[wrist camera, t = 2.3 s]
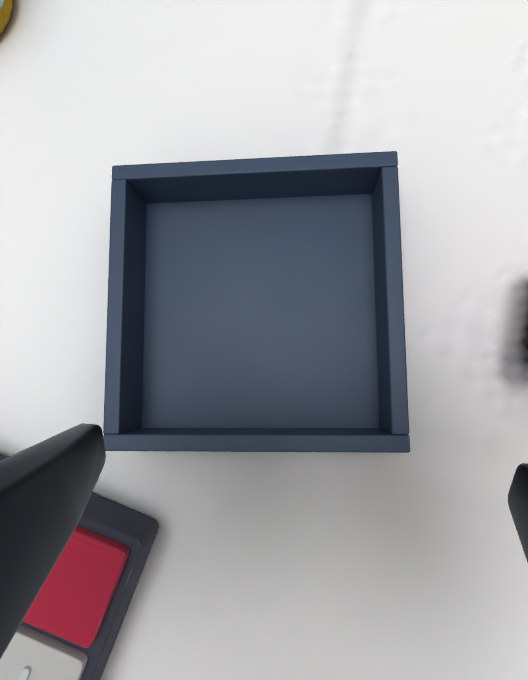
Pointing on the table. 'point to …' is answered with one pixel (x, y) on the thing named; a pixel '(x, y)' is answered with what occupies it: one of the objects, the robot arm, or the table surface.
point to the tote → (257, 306)
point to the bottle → (5, 13)
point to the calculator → (82, 597)
